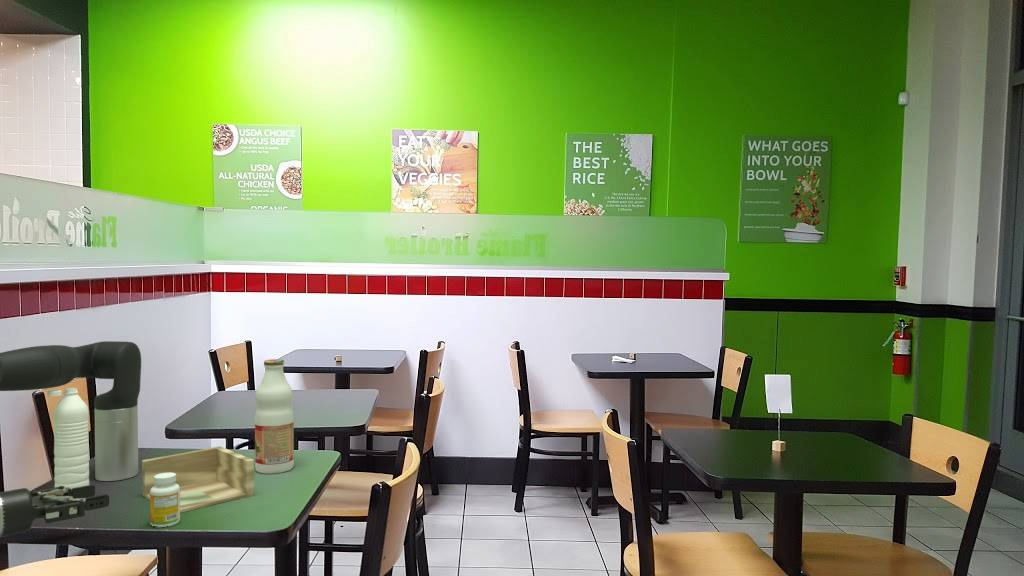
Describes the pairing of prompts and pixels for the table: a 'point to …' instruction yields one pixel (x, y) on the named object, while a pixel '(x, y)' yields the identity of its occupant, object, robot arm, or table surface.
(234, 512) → the table surface
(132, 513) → the table surface
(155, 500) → the supplement bottle
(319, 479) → the table surface
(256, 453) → the fruit juice
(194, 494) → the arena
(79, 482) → the water bottle
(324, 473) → the table surface
